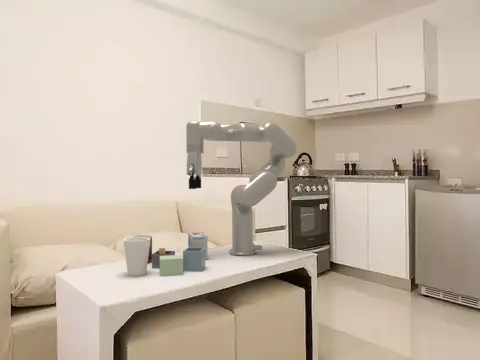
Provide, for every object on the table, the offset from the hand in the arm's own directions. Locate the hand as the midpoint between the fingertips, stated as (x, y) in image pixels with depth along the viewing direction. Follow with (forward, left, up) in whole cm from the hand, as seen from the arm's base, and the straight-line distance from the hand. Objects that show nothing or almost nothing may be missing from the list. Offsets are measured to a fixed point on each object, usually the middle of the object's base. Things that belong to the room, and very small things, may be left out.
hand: (195, 188), depth 164 cm
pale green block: (+2, +30, -30) cm, 43 cm away
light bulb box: (-2, +4, -31) cm, 31 cm away
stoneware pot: (-5, +23, -30) cm, 38 cm away
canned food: (+19, +14, -31) cm, 39 cm away
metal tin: (+8, +20, -31) cm, 37 cm away
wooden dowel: (+9, +21, -30) cm, 37 cm away
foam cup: (+14, +32, -31) cm, 46 cm away
